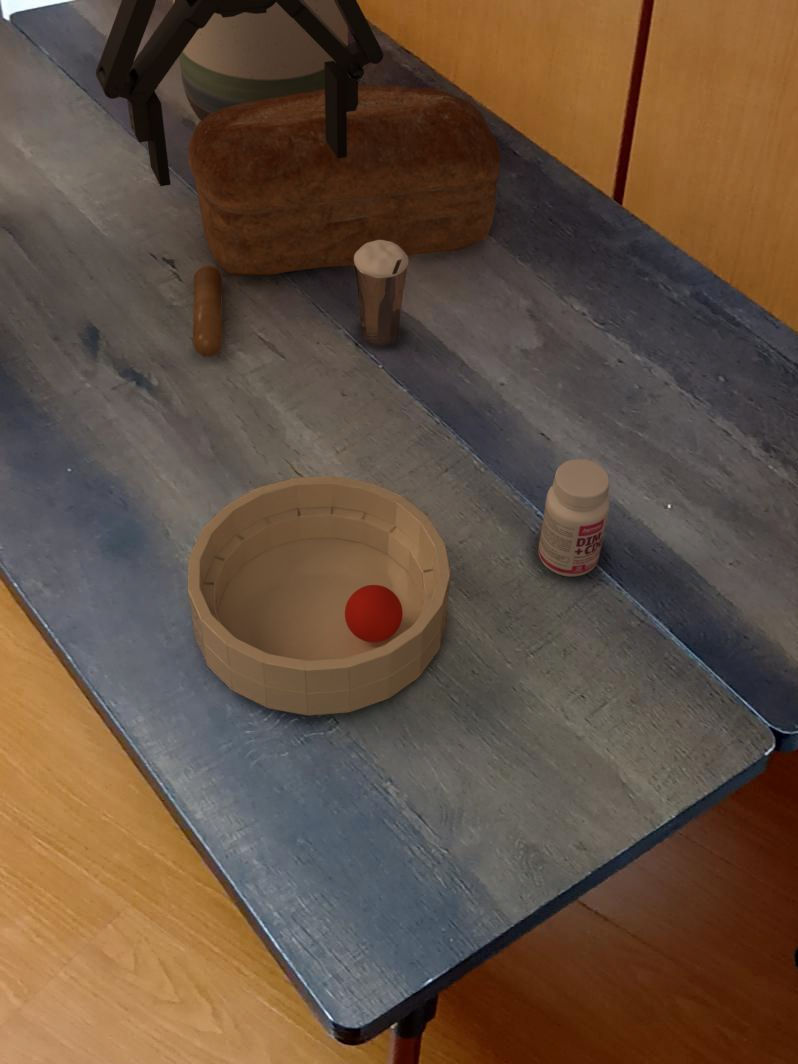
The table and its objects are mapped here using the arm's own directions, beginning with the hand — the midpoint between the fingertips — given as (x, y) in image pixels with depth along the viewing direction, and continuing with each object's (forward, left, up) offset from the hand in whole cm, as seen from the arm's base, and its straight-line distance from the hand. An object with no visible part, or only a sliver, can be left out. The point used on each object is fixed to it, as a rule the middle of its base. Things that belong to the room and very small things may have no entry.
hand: (250, 162), depth 100 cm
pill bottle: (+22, -25, -19) cm, 38 cm away
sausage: (-5, +5, -19) cm, 20 cm away
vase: (+1, +39, -19) cm, 44 cm away
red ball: (+7, -32, -16) cm, 36 cm away
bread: (+8, +17, -19) cm, 27 cm away
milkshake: (+10, +2, -19) cm, 22 cm away
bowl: (+3, -30, -19) cm, 35 cm away
